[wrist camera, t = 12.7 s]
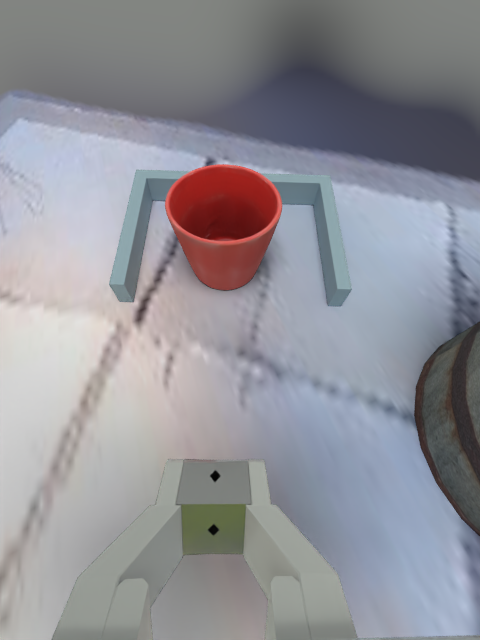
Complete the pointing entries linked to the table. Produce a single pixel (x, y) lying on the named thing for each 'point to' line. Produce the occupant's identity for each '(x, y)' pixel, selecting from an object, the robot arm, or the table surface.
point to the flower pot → (224, 222)
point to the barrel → (453, 421)
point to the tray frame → (292, 192)
